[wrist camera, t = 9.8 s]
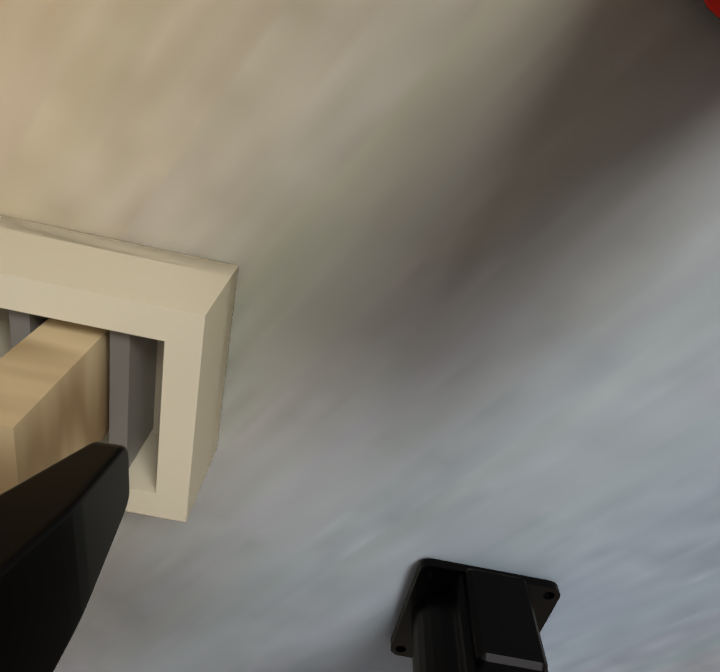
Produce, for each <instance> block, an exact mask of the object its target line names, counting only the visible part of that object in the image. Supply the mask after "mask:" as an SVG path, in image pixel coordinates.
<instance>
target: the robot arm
mask: <svg viewBox="0 0 720 672" xmlns="http://www.w3.org/2000/svg"><path fill="white" fill-rule="evenodd" d="M128 499H129V455H128V450H127V448H126V447H125V446H123V445H120V444H114V443H108V442H102V441H96V442H92V443H90V444H88V445H86V446H85V447H83V448H81V449H79V450H78V451H76V452H74V453H72V454H71V455H69V456H67V457H65V458H63V459H62V460H60V461H58V462H56V463H55V464H53V465H51V466H49V467H48V468H46V469H44V470H42V471H41V472H39V473H37V474H35V475H33V476H32V477H30V478H28V479H26V480H25V481H23V482H21V483H19V484H18V485H16V486H14V487H12V488H11V489H9V490H7V491H5V492H3V493H2V494H0V672H53V671H54V669H55V667H56V665H57V664H58V662H59V660H60V658H61V656H62V654H63V652H64V650H65V649H66V647H67V645H68V643H69V641H70V639H71V637H72V635H73V633H74V631H75V629H76V627H77V625H78V623H79V621H80V619H81V617H82V615H83V613H84V610H85V608H86V606H87V603H88V601H89V599H90V596H91V594H92V591H93V589H94V586H95V584H96V581H97V579H98V576H99V574H100V572H101V569H102V567H103V564H104V562H105V559H106V557H107V554H108V552H109V549H110V547H111V544H112V542H113V539H114V537H115V534H116V532H117V529H118V527H119V525H120V522H121V520H122V517H123V515H124V512H125V510H126V507H127V503H128ZM559 598H560V593H559V589H558V586H557V584H556V583H555V582H552V581H548V580H543V579H538V578H532V577H527V576H522V575H516V574H511V573H506V572H500V571H495V570H490V569H484V568H479V567H474V566H468V565H463V564H458V563H453V562H447V561H442V560H437V559H425V560H423V561H421V562H420V564H419V566H418V569H417V571H416V574H415V577H414V579H413V582H412V585H411V587H410V590H409V593H408V595H407V598H406V601H405V603H404V606H403V609H402V611H401V614H400V617H399V619H398V622H397V625H396V627H395V630H394V633H393V635H392V638H391V651H392V652H393V653H394V654H396V655H400V656H405V657H411V658H412V659H413V672H548V669H547V668H548V665H547V661H546V657H545V653H544V649H543V645H542V641H541V637H540V631H541V630H542V628H543V626H544V624H545V622H546V621H547V619H548V617H549V615H550V614H551V612H552V610H553V608H554V607H555V605H556V603H557V601H558V599H559Z"/></svg>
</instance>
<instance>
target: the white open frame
mask: <svg viewBox="0 0 720 672" xmlns="http://www.w3.org/2000/svg"><path fill="white" fill-rule="evenodd" d="M237 273H238V266H237V265H232V264H227V263H222V262H218V261H213V260H208V259H204V258H199V257H194V256H190V255H185V254H180V253H176V252H171V251H166V250H162V249H157V248H152V247H148V246H143V245H138V244H133V243H129V242H124V241H119V240H115V239H110V238H105V237H101V236H96V235H91V234H87V233H82V232H77V231H73V230H68V229H63V228H58V227H54V226H49V225H44V224H40V223H35V222H30V221H26V220H21V219H16V218H12V217H7V216H2V215H0V358H1V357H3V356H4V355H5V354H6V353H7V352H9V351H10V350H11V349H12V348H13V347H15V346H16V345H17V344H18V343H20V342H21V341H22V340H23V339H24V338H26V337H27V336H28V335H29V334H30V333H32V332H33V331H34V330H35V329H37V328H38V327H39V326H40V325H41V324H43V323H44V322H45V321H46V320H47V319H49V318H53V319H58V320H63V321H68V322H73V323H78V324H82V325H87V326H92V327H97V328H102V329H107V330H110V402H109V430H108V432H107V433H106V435H105V436H104V437H103V439H102V440H101V441H102V442H108V443H114V444H120V445H123V446H125V447H126V448H127V450H128V455H129V499H128V503H127V507H126V510H125V511H128V512H133V513H139V514H144V515H150V516H155V517H160V518H166V519H171V520H176V521H182V522H186V521H187V519H188V516H189V514H190V511H191V509H192V507H193V504H194V502H195V500H196V497H197V495H198V492H199V490H200V488H201V485H202V483H203V481H204V478H205V476H206V473H207V471H208V469H209V466H210V464H211V461H212V459H213V457H214V454H215V452H216V450H217V442H218V433H219V425H220V416H221V408H222V400H223V391H224V383H225V374H226V366H227V357H228V349H229V340H230V332H231V323H232V315H233V306H234V298H235V290H236V281H237Z"/></svg>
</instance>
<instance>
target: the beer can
mask: <svg viewBox="0 0 720 672" xmlns="http://www.w3.org/2000/svg"><path fill="white" fill-rule="evenodd" d="M704 2H705V4H706V6H707V8H708V9H710V10H711V11H712V12H713V13H714V14H715V15H716V16H717V17H719V18H720V0H704Z"/></svg>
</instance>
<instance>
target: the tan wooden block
mask: <svg viewBox="0 0 720 672" xmlns="http://www.w3.org/2000/svg"><path fill="white" fill-rule="evenodd" d="M109 402H110V330H107V329H102V328H97V327H92V326H87V325H82V324H78V323H73V322H68V321H63V320H58V319H53V318H49V319H47V320H46V321H45V322H44V323H43V324H41V325H40V326H39V327H38V328H37V329H35V330H34V331H33V332H32V333H30V334H29V335H28V336H27V337H26V338H24V339H23V340H22V341H21V342H20V343H18V344H17V345H16V346H15V347H13V348H12V349H11V350H10V351H9V352H7V353H6V354H5V355H4V356H3V357H1V358H0V494H2V493H3V492H5V491H7V490H9V489H11V488H12V487H14V486H16V485H18V484H19V483H21V482H23V481H25V480H26V479H28V478H30V477H32V476H33V475H35V474H37V473H39V472H41V471H42V470H44V469H46V468H48V467H49V466H51V465H53V464H55V463H56V462H58V461H60V460H62V459H63V458H65V457H67V456H69V455H71V454H72V453H74V452H76V451H78V450H79V449H81V448H83V447H85V446H86V445H88V444H90V443H92V442H96V441H101V440H102V439H103V437H104V436H105V435H106V433H107V432H108V430H109Z"/></svg>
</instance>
